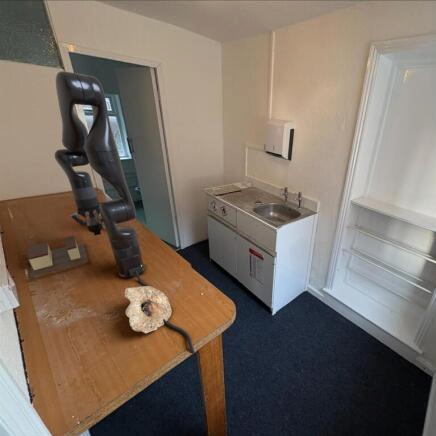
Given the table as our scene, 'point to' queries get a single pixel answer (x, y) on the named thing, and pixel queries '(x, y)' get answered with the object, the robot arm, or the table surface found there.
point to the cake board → (61, 260)
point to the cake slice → (72, 248)
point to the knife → (95, 226)
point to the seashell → (147, 308)
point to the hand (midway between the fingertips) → (96, 230)
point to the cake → (40, 255)
